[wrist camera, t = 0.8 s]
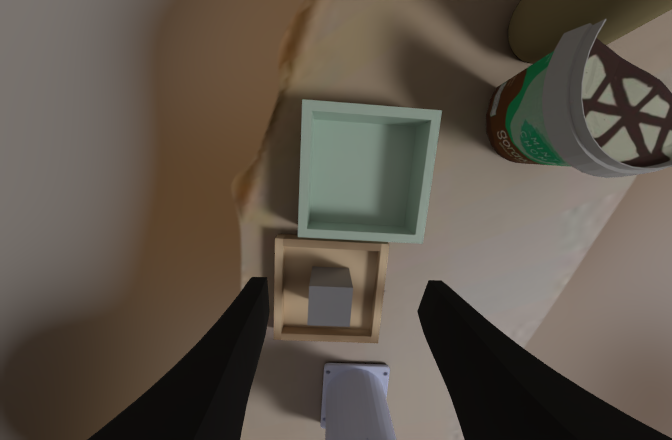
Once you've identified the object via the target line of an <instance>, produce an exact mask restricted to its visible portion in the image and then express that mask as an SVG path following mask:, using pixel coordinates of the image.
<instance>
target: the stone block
mask: <svg viewBox="0 0 672 440" xmlns="http://www.w3.org/2000/svg"><path fill="white" fill-rule="evenodd" d="M352 296H353V285H352V280H351V275H350V271H349V268H338V267H317V266H312V271H311V278H310V284H309V300H308V321H307V325H312V326H339V327H350V319H351V308H352Z"/></svg>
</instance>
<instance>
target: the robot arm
mask: <svg viewBox="0 0 672 440" xmlns="http://www.w3.org/2000/svg"><path fill="white" fill-rule="evenodd" d="M417 312H418V315H419V319H420V322H421V326H422V329H423V332H424V335H425V338H426V340H427V342H428V345H429V347H430V349H431V352H432V354H433V356H434V359H435V361H436V363H437V366H438V368H439V370H440V373H441V375H442V377H443V379H444V382H445V384H446V386H447V389H448V391H449V394H450V397H451V399H452V402H453V405H454V408H455V411H456V414H457V417H458V420H459V423H460V426H461V429H462V432H463V436H464V439H465V440H672V438H670V437H668V436H666V435H664V434H662V433H660V432H658V431H657V430H655V429H653V428H651V427H649V426H647V425H645V424H643V423H642V422H640V421H638V420H636V419H634V418H632V417H631V416H629V415H627V414H625V413H624V412H622V411H620V410H618V409H617V408H615V407H613V406H612V405H610V404H608V403H606V402H604V401H603V400H601V399H599V398H598V397H596V396H594V395H593V394H591V393H589V392H588V391H586V390H584V389H583V388H581V387H580V386H578V385H577V384H575V383H574V382H572V381H570V380H569V379H567V378H565V377H564V376H562V375H561V374H559V373H557V372H556V371H555V370H553V369H552V368H550V367H549V366H547V365H546V364H544V363H543V362H542V361H540V360H539V359H537V358H536V357H535V356H533V355H531V354H530V353H529V352H528V351H526V350H525V349H523V348H522V347H521V346H519V345H518V344H517V343H515V342H514V341H513V340H511V339H510V338H509V337H508V336H506V335H505V334H504V333H503V332H501V331H500V330H499V329H498V328H496V327H495V326H494V325H493V324H491V323H490V322H489V321H488V320H487V319H485V318H484V317H483V316H482V315H481V314H480V313H478V312H477V311H476V310H475V309H474V308H473V307H471V306H470V305H469V304H468V303H467V302H466V301H465V300H463V299H462V298H461V297H460V296H459V295H458V294H457V293H456V292H454V291H453V290H452V289H451V288H450V287H449V286H447V285H446V284H445V283H444V282H443V281H435V280H429V281H428V284H427V286H426V289H425V292H424V295H423V297H422V300H421V303H420V306H419V309H418V311H417ZM268 317H269V298H268V284H267V277H252V278H251V279H250V280H249V281H248V282H247V284H246V285H245V287H244V288H243V289H242V291H241V292H240V294H239V295H238V296H237V297H236V299H235V300H234V301H233V303H232V304H231V305H230V306H229V308H228V309H227V310H226V311H225V312H224V314H223V315H222V316H221V317H220V319H219V320H218V321H217V322H216V323H215V324H214V325H213V326H212V328H211V329H210V330H209V331H208V332H207V333H206V334H205V335H204V337H203V338H202V339H201V340H200V341H199V342H198V343H197V344H196V345H195V346H194V347H193V348H192V349H191V350H190V351H189V352H188V353H187V354H186V355H185V356H184V357H183V358H182V359H181V360H180V361H179V362H178V363H177V364H176V365H175V366H174V367H173V368H172V369H171V370H170V371H168V372H167V373H166V374H165V375H164V376H163V377H162V378H161V379H160V380H159V381H158V382H157V383H155V384H154V385H153V386H152V387H151V388H150V389H149V390H148V391H146V392H145V393H144V394H143V395H142V396H141V397H139V398H138V399H137V400H136V401H135V402H133V403H132V404H131V405H130V406H128V407H127V408H126V409H125V410H124V411H122V412H121V413H120V414H119V415H117V416H116V417H115V418H114V419H113V420H111V421H110V422H109V423H108V424H107V425H105V426H104V427H103V428H102V429H100V430H99V431H98V432H97V433H95V434H94V435H93V436H91V437H90V438H89V439H88V440H240V437H241V431H242V426H243V421H244V416H245V411H246V405H247V401H248V397H249V393H250V389H251V385H252V382H253V378H254V375H255V371H256V367H257V364H258V360H259V357H260V353H261V349H262V346H263V342H264V338H265V335H266V329H267V323H268ZM328 370H329V371H328ZM384 372H386V373H384ZM389 373H390V368H389V366H388V365H382V364H349V363H326V364H325V365H324V377H323V393H322V408H321V427H322V428H326V434H325V440H396V436H395V432H394V428H393V424H392V420H391V416H390V412H389V408H388V404H387V400H386V396H387V388H388V380H389Z"/></svg>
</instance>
